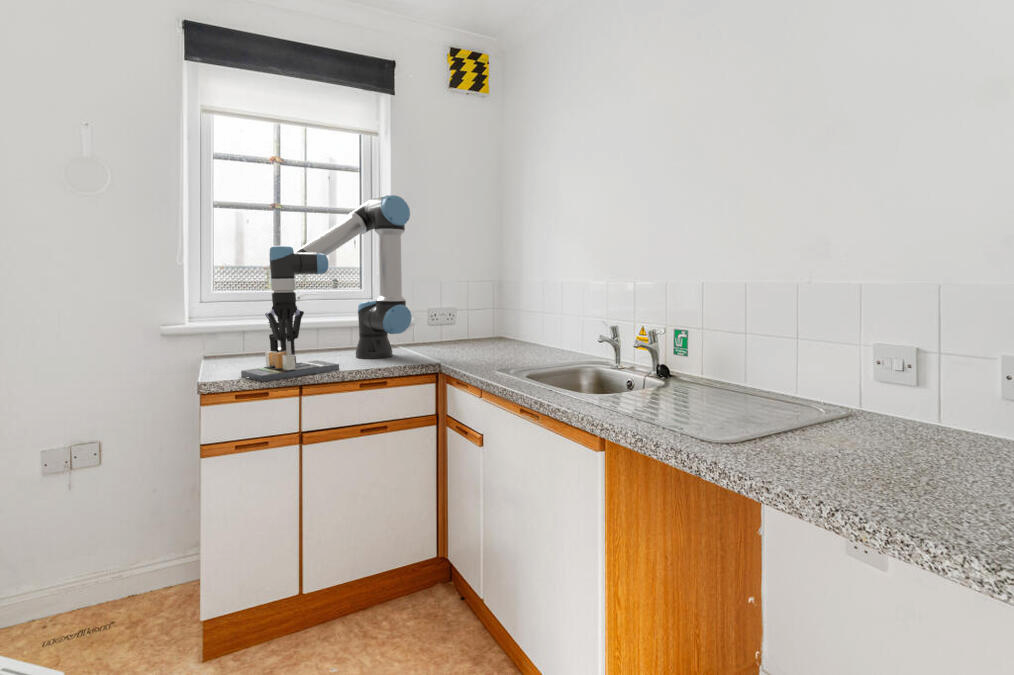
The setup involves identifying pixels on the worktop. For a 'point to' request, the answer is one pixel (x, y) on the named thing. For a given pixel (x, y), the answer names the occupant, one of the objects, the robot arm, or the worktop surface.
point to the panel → (289, 374)
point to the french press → (275, 343)
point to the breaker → (279, 359)
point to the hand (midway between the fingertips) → (287, 359)
